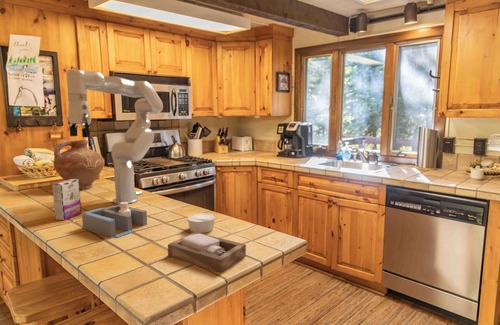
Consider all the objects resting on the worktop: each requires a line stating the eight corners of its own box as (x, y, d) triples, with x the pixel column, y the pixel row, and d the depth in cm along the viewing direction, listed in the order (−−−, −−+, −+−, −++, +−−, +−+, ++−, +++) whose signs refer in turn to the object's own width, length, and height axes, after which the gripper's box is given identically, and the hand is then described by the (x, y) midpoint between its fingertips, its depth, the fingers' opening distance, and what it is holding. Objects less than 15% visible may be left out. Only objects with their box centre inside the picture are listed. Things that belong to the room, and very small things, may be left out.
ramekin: (188, 235, 131) (188, 222, 130) (186, 226, 142) (186, 214, 141) (217, 233, 134) (217, 220, 133) (212, 224, 145) (212, 212, 144)
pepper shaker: (126, 222, 145) (125, 201, 144) (131, 224, 143) (130, 202, 141) (118, 224, 142) (117, 202, 141) (123, 226, 140) (122, 204, 138)
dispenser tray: (195, 242, 124) (195, 231, 123) (245, 255, 113) (245, 244, 112) (168, 255, 112) (167, 244, 112) (221, 272, 101) (221, 260, 100)
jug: (113, 188, 209) (111, 140, 204) (64, 195, 189) (60, 142, 184) (95, 181, 228) (92, 137, 224) (48, 187, 208) (44, 139, 203)
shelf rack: (119, 217, 152) (118, 203, 151) (151, 225, 141) (150, 210, 140) (82, 228, 137) (81, 213, 136) (115, 238, 126) (114, 222, 125)
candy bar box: (72, 212, 158) (70, 178, 156) (81, 213, 157) (79, 179, 155) (54, 220, 147) (51, 183, 145) (64, 220, 146) (61, 184, 144)
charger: (213, 263, 104) (180, 251, 113) (232, 256, 111) (200, 245, 120) (214, 249, 104) (181, 237, 112) (233, 242, 111) (201, 232, 120)
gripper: (96, 98, 148) (98, 137, 150) (74, 98, 157) (77, 135, 159) (80, 97, 141) (82, 138, 144) (58, 98, 151) (61, 136, 153)
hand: (79, 136), depth 152 cm, fingers open, 9 cm apart
